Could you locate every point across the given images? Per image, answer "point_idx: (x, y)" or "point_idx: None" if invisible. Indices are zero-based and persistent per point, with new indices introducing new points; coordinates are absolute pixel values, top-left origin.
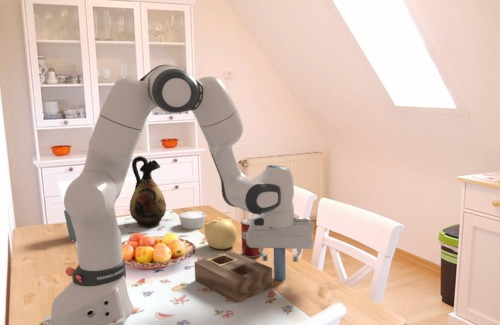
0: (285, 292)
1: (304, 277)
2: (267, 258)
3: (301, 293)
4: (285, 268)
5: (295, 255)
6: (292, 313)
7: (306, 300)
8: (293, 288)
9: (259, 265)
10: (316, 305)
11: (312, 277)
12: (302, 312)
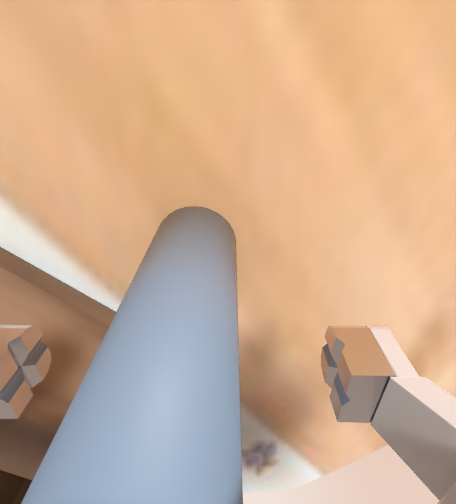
0: (245, 378)
1: (370, 217)
2: (29, 340)
3: (319, 380)
4: (236, 284)
5: (377, 393)
6: (274, 472)
7: (333, 419)
8: (284, 346)
9: (32, 442)
10: (365, 439)
11: (430, 211)
12: (307, 467)
